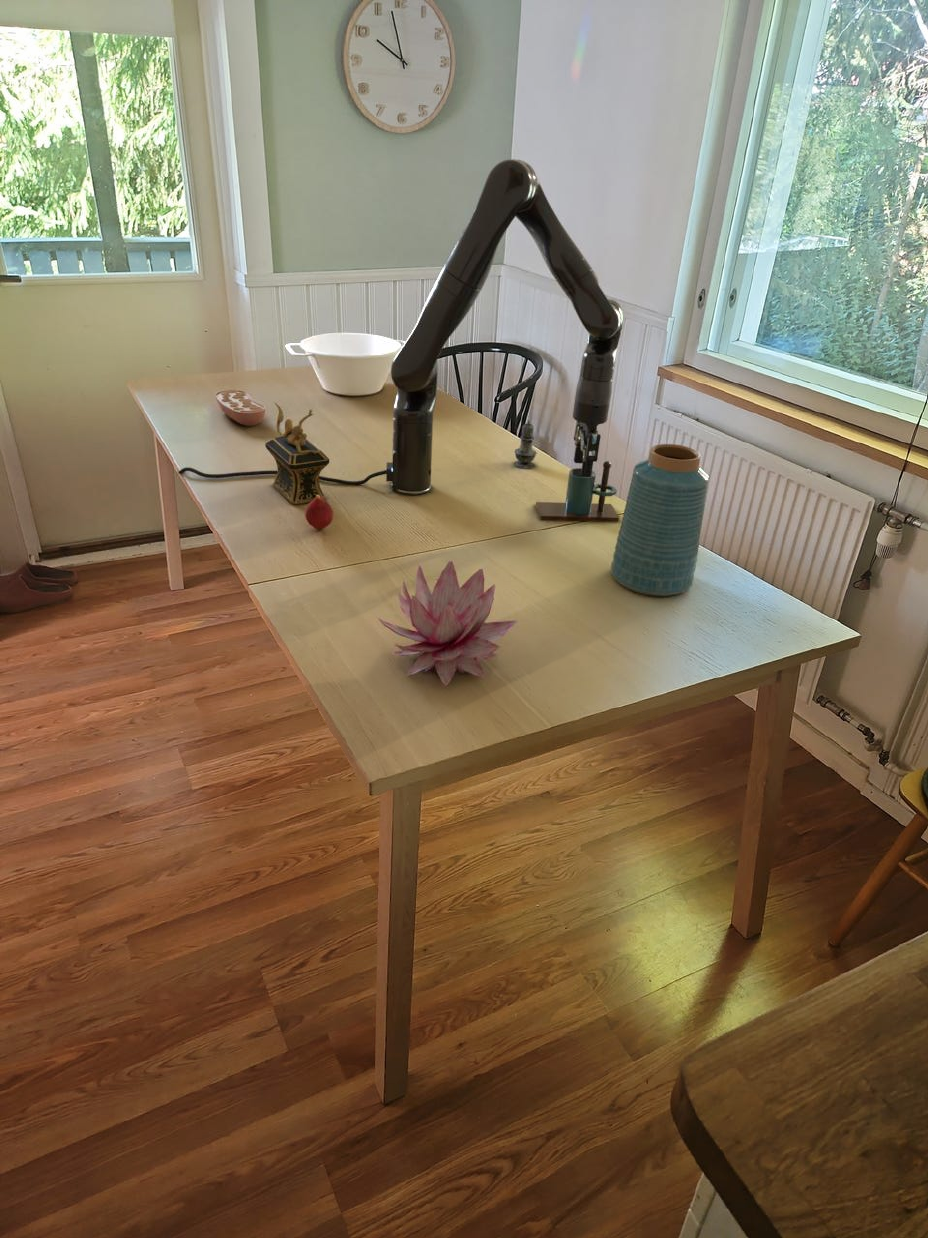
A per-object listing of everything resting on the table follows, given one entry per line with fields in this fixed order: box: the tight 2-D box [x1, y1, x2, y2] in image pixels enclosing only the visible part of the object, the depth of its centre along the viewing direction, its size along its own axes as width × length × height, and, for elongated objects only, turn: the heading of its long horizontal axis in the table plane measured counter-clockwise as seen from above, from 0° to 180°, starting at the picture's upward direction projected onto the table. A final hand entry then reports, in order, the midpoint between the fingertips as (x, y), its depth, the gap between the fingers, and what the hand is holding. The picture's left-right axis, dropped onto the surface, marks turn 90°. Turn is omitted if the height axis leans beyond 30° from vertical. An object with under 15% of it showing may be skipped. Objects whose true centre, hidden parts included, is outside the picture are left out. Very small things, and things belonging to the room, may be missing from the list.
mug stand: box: [535, 460, 620, 523], centre depth 191 cm, size 18×8×13 cm, turn 94°
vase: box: [610, 443, 710, 597], centre depth 161 cm, size 16×16×27 cm
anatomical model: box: [214, 389, 266, 427], centre depth 238 cm, size 23×10×5 cm, turn 32°
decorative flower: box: [376, 560, 518, 686], centre depth 134 cm, size 21×21×15 cm
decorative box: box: [264, 402, 330, 505], centre depth 192 cm, size 20×10×20 cm, turn 31°
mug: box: [564, 467, 618, 515], centre depth 192 cm, size 11×6×9 cm, turn 94°
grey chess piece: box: [513, 419, 538, 470], centre depth 217 cm, size 6×6×12 cm
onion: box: [304, 495, 334, 531], centre depth 177 cm, size 6×6×8 cm
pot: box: [285, 332, 407, 397], centre depth 268 cm, size 40×32×14 cm
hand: (582, 469), depth 189 cm, fingers open, 8 cm apart
